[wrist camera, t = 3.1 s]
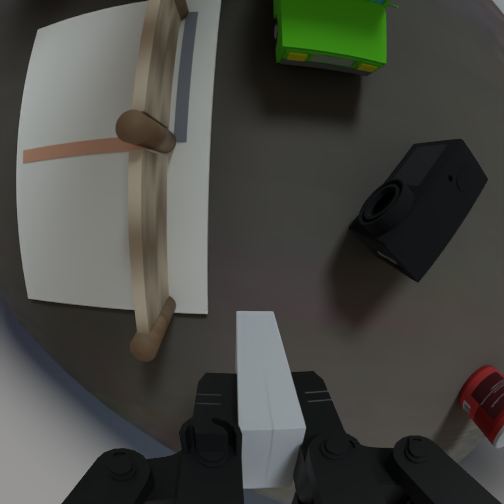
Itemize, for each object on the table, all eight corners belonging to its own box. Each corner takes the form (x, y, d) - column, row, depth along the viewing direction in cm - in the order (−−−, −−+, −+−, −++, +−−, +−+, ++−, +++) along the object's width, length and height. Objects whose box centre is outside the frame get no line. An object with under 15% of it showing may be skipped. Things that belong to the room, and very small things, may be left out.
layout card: (40, 31, 18) (37, 29, 17) (221, -2, 19) (221, -6, 18) (31, 296, 24) (27, 298, 24) (208, 311, 26) (207, 314, 25)
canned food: (473, 406, 32) (508, 446, 22) (448, 404, 31) (486, 452, 21) (500, 366, 31) (541, 403, 20) (478, 360, 30) (524, 403, 19)
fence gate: (152, 157, 21) (116, 149, 14) (174, 156, 21) (147, 147, 14) (156, 313, 24) (131, 360, 17) (176, 314, 24) (157, 363, 17)
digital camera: (406, 132, 23) (453, 124, 16) (440, 175, 24) (489, 178, 17) (337, 218, 24) (373, 234, 17) (378, 257, 25) (419, 283, 19)
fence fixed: (169, 6, 18) (148, -46, 10) (190, 5, 18) (175, -49, 11) (153, 153, 22) (114, 143, 14) (175, 153, 22) (145, 141, 14)
